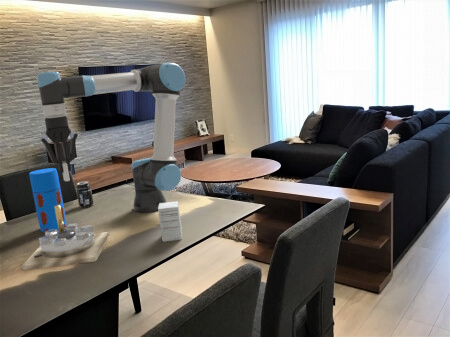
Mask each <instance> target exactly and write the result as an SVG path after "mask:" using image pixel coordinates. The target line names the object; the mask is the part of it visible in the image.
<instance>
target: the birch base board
mask: <svg viewBox="0 0 450 337" xmlns="http://www.w3.org/2000/svg"><path fill="white" fill-rule="evenodd" d="M93 234H94V240H95V243H94V245H93V246H91V247H90V248H89V249H87V250H85V251H82V252H80V253H77V254H74V255H70V256H64V257H46V256H44V255H43V254H42V250H41V245H40V244H39V246H38V248H37V249H36V250H35V251H34V252H33V253H32V254H31V255H30V257H29V258H28V259H27V260H26V261H25V262H24V263H23V264H22V266H21V267H22V270H23V271H27V270H35V269H42V268H51V267H59V266H67V265H69V266H70V265H76V264H82V263H83V264H84V263H92V262H97V261H98V258H99V256H100V254H101V252H102V250H103V249H104V247H105V245H106V243H107V241H108V240H109V237H110V231H105V232H96V233H95V232H93Z"/></svg>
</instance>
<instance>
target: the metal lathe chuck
mask: <svg viewBox="0 0 450 337" xmlns="http://www.w3.org/2000/svg"><path fill="white" fill-rule="evenodd" d="M54 207H55V212H56V218H57V223H58V228H59V230H57V229H50V230H47V231H45V232H44V236H41V237H38V242H39V246H40V245H41V250H42V254H43V255H44V256H46V257H64V256H70V255H74V254H77V253H80V252H82V251H85V250H87V249H89V248H90V247H91V246H93V245H94V243H95V240H94V228H93V225H92V224H87V225H82V226H80V227H79V226H78V222H77V223H68V225H67V226H66V228H64V223H63V218H62V213H61V207H60V205H56V206H54Z"/></svg>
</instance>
